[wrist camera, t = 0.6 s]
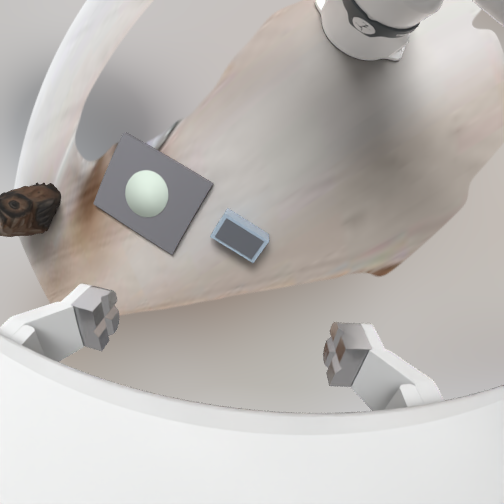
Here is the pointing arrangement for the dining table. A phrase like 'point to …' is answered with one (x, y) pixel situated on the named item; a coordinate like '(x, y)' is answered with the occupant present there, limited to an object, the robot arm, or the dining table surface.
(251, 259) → the phone
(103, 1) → the dining table surface
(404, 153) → the dining table surface
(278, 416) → the robot arm
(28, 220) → the brown rock
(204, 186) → the charging mat
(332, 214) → the dining table surface
